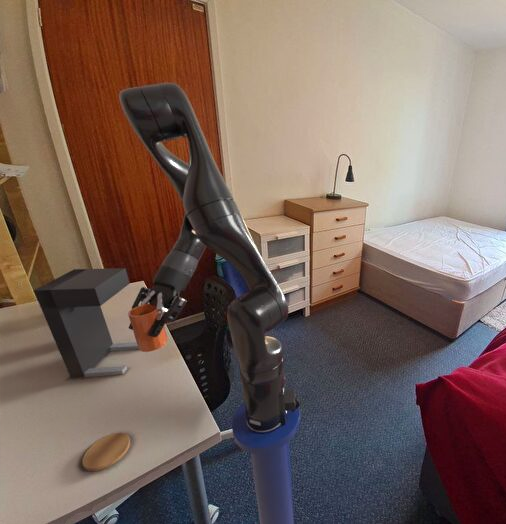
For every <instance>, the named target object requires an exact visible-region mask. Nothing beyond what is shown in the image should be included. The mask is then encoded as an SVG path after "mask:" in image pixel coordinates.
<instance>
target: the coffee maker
mask: <svg viewBox="0 0 506 524" xmlns="http://www.w3.org/2000/svg"><path fill="white" fill-rule="evenodd" d="M126 269H127V268H126V267H119V268H118V267H115V268H113V267H112V268H111V267H110V268H76V269H75V268H74V269H72V270H69V271H68V272H66V273H64V274H61V276H58V277H57V278H54V279H53V280H51V281H49V282H47V283H45V284H43V285H41V286H39V287H38V288H36V289H33V293H34V295H35V297H36V300H37V303H38V304H39V307H40V309H41V312H42V314H43V316H44V319H45V321H46V323H47V325H48V329H49V330H50V333H51V336H52V337H53V340H54V342H55V344H56V347H57V350H58V352H59V354H60V356H61V359H62V361H63V364H64V367H65V368H66V370H67V373H68V376H69V377H70V379H75V378H90V377H103V376H104V377H105V376H114V375H117V376H118V375H124V374H125V373H126V371H127V370H128V367H127V365H118V366H105V367H96V366H97V365H98V364H99V363H100V362H101V361H102V360H103V359H104V358H105V357H106V356H107V355H108V354H109V353H110V352H112V351H113V352H114V351H129V350H139V348H138V345H137V342H136V341H135V342H122V343H121V342H119V343H113V340H112V336H111V334H110V331H109V328H108V325H107V322H106V319H105V315H104V313H103V310H102V307H101V306H103V305H105V303H107V302H108V301H109V300H110V299H112V298H113V297H115V296H116V295H117V294H118V293H120V291H122V290H124V289H125V288H126V287H128V286H129V285H130V279H129V276H128V272H127V270H126Z"/></svg>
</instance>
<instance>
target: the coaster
mask: <svg viewBox="0 0 506 524" xmlns="http://www.w3.org/2000/svg"><path fill="white" fill-rule="evenodd" d="M130 446H131V439H130V437H129V435H127V434H126V433H123V432H117V433H116V432H115V433H112V434H108V435H106V436H104V437H102V438H100V439H99V440H97V441H96V442H95V443H93V444H92V445H91V446H90V447H89V448H88V449H87V450H86V452H85V454H84V455H83V457H82V462H81V463H82V466H83V468H84V470H86V471H88V472H98V471H103V470H105V469H107V468H109V467H111V466H112V465H114V464H115V463H117V462H118V461H120V460H121V459H122V458H123V457H124V456H125V455H126V453H128V450H129V448H130Z"/></svg>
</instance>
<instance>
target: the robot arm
mask: <svg viewBox="0 0 506 524" xmlns="http://www.w3.org/2000/svg"><path fill="white" fill-rule="evenodd" d="M118 94H119V95H118V99H119V103H120V106H121V108H122V111H123V113H124V116H125V117H126V120H127V121H128V123H129V124H130V126H131V128H132V130H133V131H134V133H135V134H136V136H137V137H138V139H139V140H140V142H141V143H142V145H143V146H144V147H145V149H146V151H147V152H148V153H149V155H150V156H151V158H152V159H153V160H154V161H155V163H156V164H157V165H158V167H159V168H160V169H161V171H162V172H163V173H164V175H165V177H167V179H168V180H169V181H170V183H171V185H172V187H173V188H174V190H175V191H176V193H177V196H178V197H179V200H180V201H181V203H182V206H183V210H184V215H183V219H182V224H181V228H180V232H179V235H178V238H177V239H176V242H175V243H174V245H173V247H172V248H171V250H170V251H169V253H168V254H167V255H166V256H165V258H164V259H163V261H162V263H161V265H160V266H159V268H158V270H157V271H156V273H155V275H154V277H153V278H152V282H153V283H154V285H152V286H151V288H147V287H145V286H142V287H141V288H140V289H139V292H138V294H137V296H136V297H135V299H134V302H133V303H132V306H131V309H133V308H135V307H137V306H140V305H146V304H150V305H152V306H156V307H157V311H158V314H157V321H156V320H155V321H154V323H153V325H152V327H151V329H150V330H149V332H148V336H151V337H157V336H158V335H159V334H160V332H161V331H162V329H163V327H164V328H165V325H166V324H168V323H170V322H171V323H175V322H176V320H177V318H178V317H179V315H180V314H181V312H182V311H183V309H184V308H185V306H186V304H187V302H188V301H187V299H185V298H183V297H181V296H180V293H184V292H185V291H186V288H187V286H188V285H189V282H190V281H191V279H192V277H193V276H194V273H195V272H196V270H197V268H198V264H199V262H200V260H201V258H202V256H203V254H204V252H205V250H206V249H209V250H210V251H211V252H213V253H214V254H215V255H216V256H218V257H220V258H222V259H223V260H224V261H225V262H227V263H229V264H230V265H231V266H233V268H234V269H236V271H238V272H239V274H240V276H241V277H242V278H243V281H245V283H246V285H247V287H248V289H249V291H247V292H246V293H244V294H242V295H240V296H238V297H236V298H234V299H233V300H231V301H230V302H229V304H228V306H227V310H226V319H227V325H228V329H229V333H230V334H229V335H230V338H231V343H232V348H233V351H234V354H235V356H236V359H237V361H238V367H239V374H240V382H241V389H242V397H243V402H244V405H245V412H246V423H247V426H248V428H249V429H250V430H251V431H253V432H255V433H258V434H265V433H270V432H272V431H274V430H276V429H278V428H279V427H280V426H282V425H286V417H287V410H292V411H293V412H294V411H295V410H296V409H297V408H299V407H301V400H300V399H299V398H298V397H297V395H296V388H287V377H286V374H285V367H284V366H285V364H284V349H283V345H282V343H281V341H280V340H279V339H277V338H276V337H273V336H270V335H268V334H269V333H271V332H272V331H274V330H275V329H276V328H278V327H279V326H280V325H281V324H282V323H284V322H286V320H287V318H288V316H289V305H288V301H287V298H286V297H285V294H284V292H283V290H282V289H281V287H280V285H279V283H278V282H277V280H276V278H275V277H274V275H273V273H272V272H271V270H270V269H269V267H268V265H267V263H266V262H265V260H264V259H263V257H262V255H261V253H260V250H259V249H258V247H257V245H256V242H255V241H254V239H253V237H252V235H251V233H250V231H249V229H248V227H247V225H246V222H245V220H244V217H243V215H242V213H241V211H240V208H239V207H238V205H237V202H236V200H235V198H234V197H233V194H232V192H231V190H230V189H229V187H228V185H227V183H226V181H225V179H224V177H223V175H222V173H221V171H220V169H219V166H218V165H217V163H216V160H215V159H214V156H213V154H212V151H211V149H210V147H209V144H208V141H207V139H206V137H205V134H204V132H203V130H202V127H201V125H200V122H199V120H198V117H197V115H196V113H195V110H194V108H193V106H192V103H191V102H190V99H189V98H188V96H187V94H186V92H185V91H184V90H183V89H182V87H181V86H180V85H179V84H177V83H176V82H161V83H155V84H148V85H142V86H141V85H140V86H135V87H129V88H124V89H122V90H120V92H119V93H118ZM183 138H186V139H187V142H188V143H187V144H188V151H189V152H188V153H189V156H188V157H189V158H188V163H187V162H186V161H184V160H182V159H181V158H180V157H178V156H176V155H175V154H174V153H172V152H171V151H170V150H169V149H168V148H167V147H166V146H165V145H164V144H163V143H164V142H165V143H166V142H170V141H174V140H178V139H183ZM128 329H129V330H131V331H133V328H132V325H131V322H130V323H129V325H128ZM295 402H296V403H297V404H296V405H295Z"/></svg>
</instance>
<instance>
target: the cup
mask: <svg viewBox="0 0 506 524" xmlns="http://www.w3.org/2000/svg"><path fill="white" fill-rule="evenodd" d="M127 314H128V315H127V316H128V318H129V322H130V323H131V325H132V328H133V330H132V332H133V335H134V339H135V342H137V345H138V348H139V349H138V350H139V351H140V352H143V353H149V352H154V351H158V350H159V349H161V348H163V347H164V346H166V344H167V343H168V337H167V332H166V327H165V326H164V327H163V329H162V331H161V332H160V334H159V335H158V336H157V337H151V336H148V332H149V330H150V329H151V327H152V325H153V323H154V321H155V320H156V321H157V314H158V311H157V307H156V306H152V305H150V304H146V305H141V304H139V305H138V306H137V307H135V308H133V309H132V308H131V309H130V310H129V311H128V313H127Z"/></svg>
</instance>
